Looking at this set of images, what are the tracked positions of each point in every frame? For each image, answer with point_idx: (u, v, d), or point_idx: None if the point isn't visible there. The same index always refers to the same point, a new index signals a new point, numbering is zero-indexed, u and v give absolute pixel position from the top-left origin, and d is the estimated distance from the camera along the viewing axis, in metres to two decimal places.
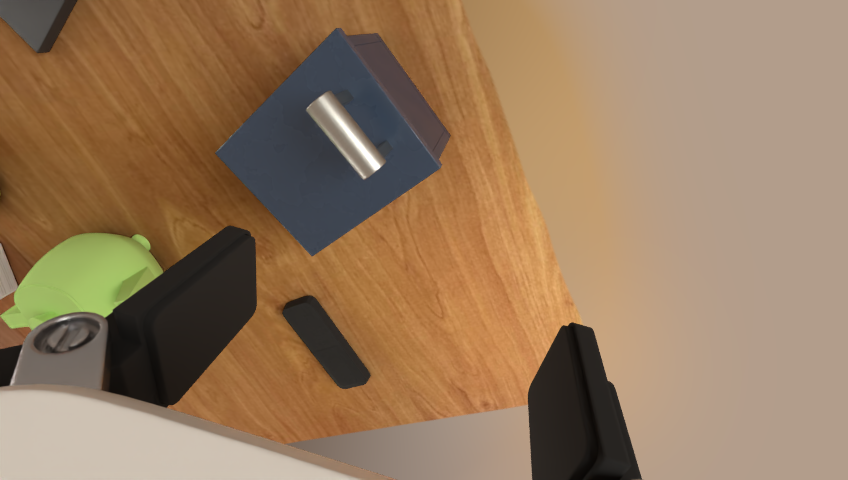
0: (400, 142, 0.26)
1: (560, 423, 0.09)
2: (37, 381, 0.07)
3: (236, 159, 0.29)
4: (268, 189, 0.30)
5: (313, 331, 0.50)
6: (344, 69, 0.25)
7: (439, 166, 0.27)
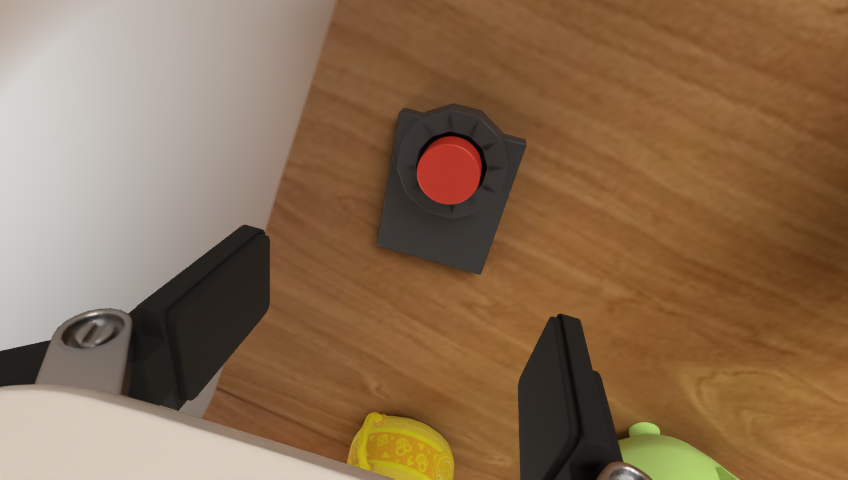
0: None
1: (546, 410, 0.09)
2: (62, 375, 0.07)
3: None
4: None
5: None
6: None
7: None
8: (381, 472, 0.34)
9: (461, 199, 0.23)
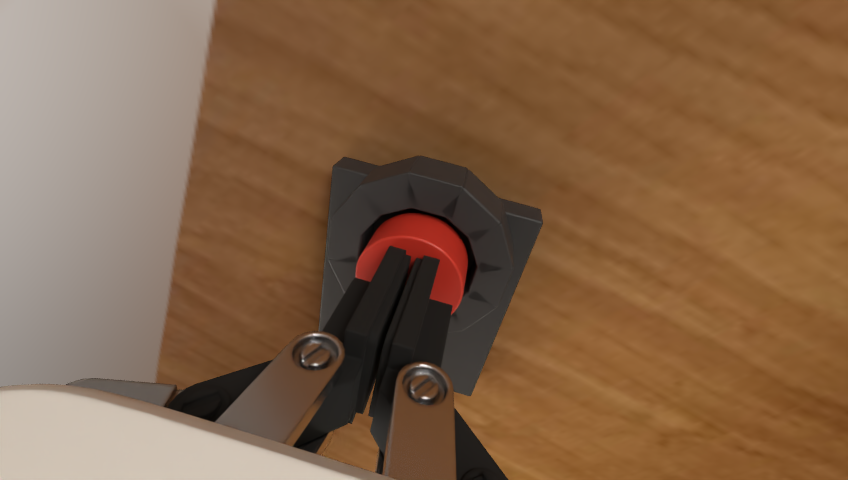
0: None
1: None
2: (273, 383, 0.07)
3: None
4: None
5: None
6: None
7: None
8: None
9: None
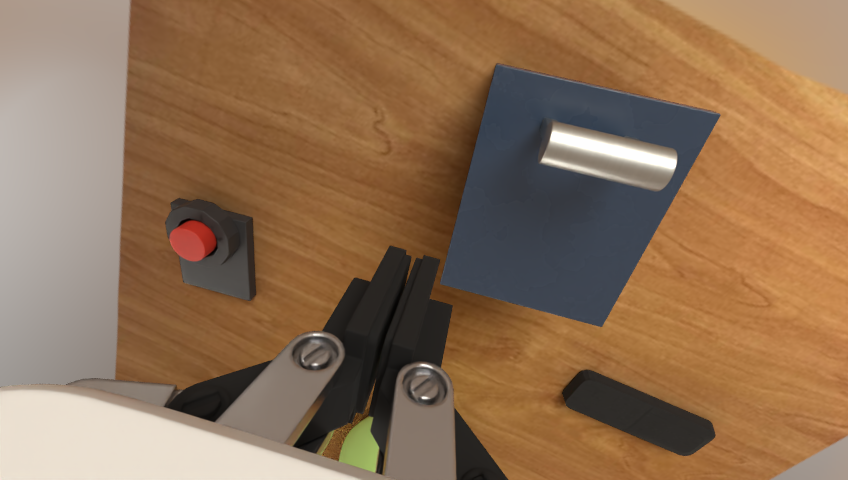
0: (644, 125, 0.19)
1: None
2: (273, 383, 0.07)
3: (464, 276, 0.25)
4: (512, 285, 0.24)
5: (612, 407, 0.40)
6: (529, 98, 0.19)
7: (717, 114, 0.18)
8: None
9: (199, 258, 0.37)
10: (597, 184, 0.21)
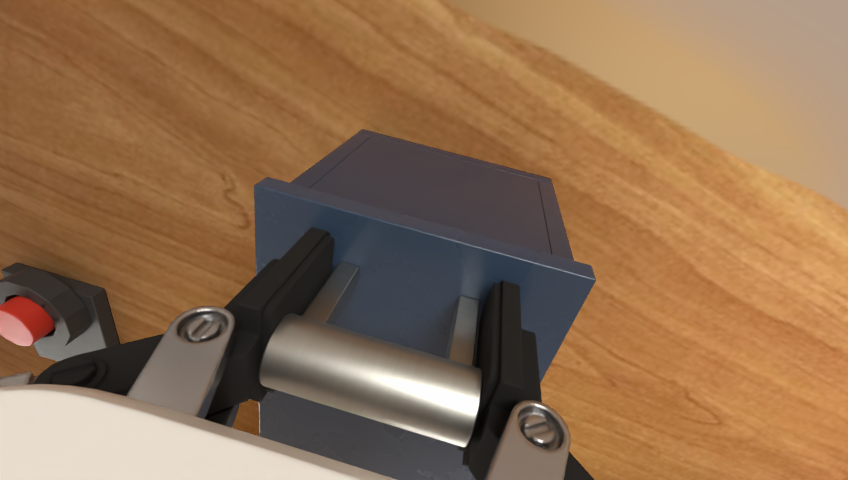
0: (485, 283, 0.12)
1: (480, 364, 0.10)
2: (167, 364, 0.07)
3: (286, 434, 0.18)
4: (349, 450, 0.18)
5: None
6: None
7: (591, 278, 0.11)
8: None
9: (28, 343, 0.30)
10: (434, 350, 0.14)
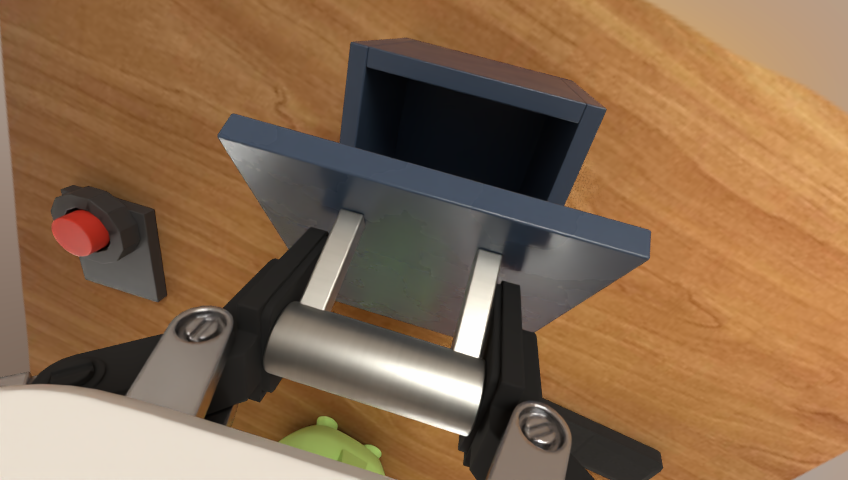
0: (509, 244, 0.10)
1: None
2: (165, 364, 0.07)
3: (338, 297, 0.21)
4: (393, 312, 0.20)
5: None
6: (303, 184, 0.10)
7: (644, 256, 0.09)
8: None
9: (86, 253, 0.33)
10: (456, 277, 0.13)
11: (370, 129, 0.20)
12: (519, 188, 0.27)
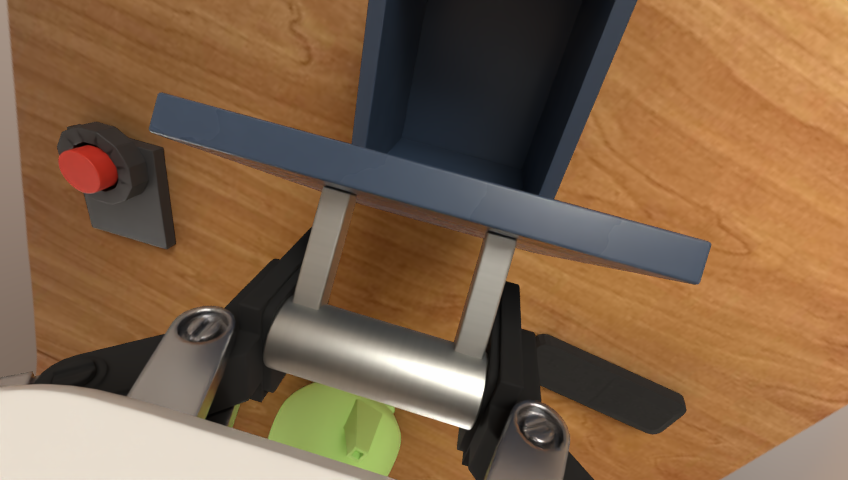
0: (523, 239, 0.08)
1: None
2: (167, 364, 0.07)
3: None
4: (418, 219, 0.19)
5: (571, 377, 0.36)
6: (271, 169, 0.09)
7: (693, 280, 0.07)
8: None
9: (94, 189, 0.32)
10: (472, 230, 0.12)
11: (396, 11, 0.19)
12: (544, 103, 0.26)
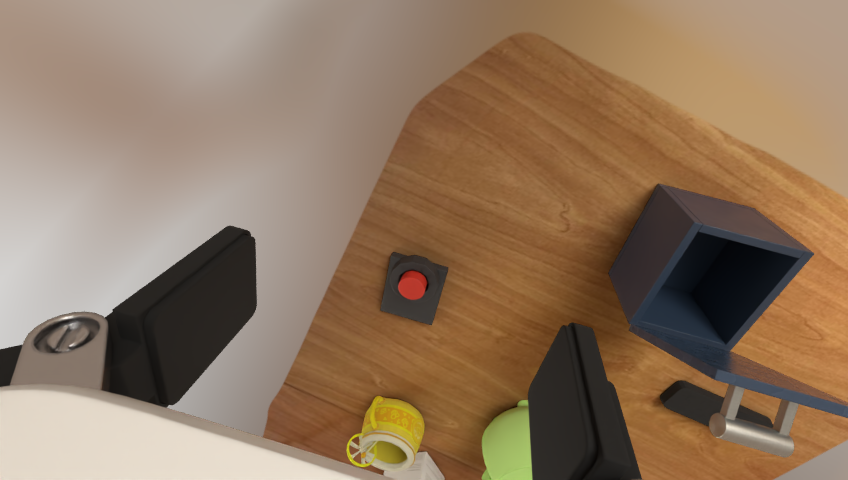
0: None
1: (560, 423, 0.09)
2: (37, 381, 0.07)
3: None
4: None
5: (699, 407, 0.56)
6: None
7: None
8: (383, 427, 0.64)
9: (417, 298, 0.52)
10: None
11: None
12: (712, 262, 0.46)
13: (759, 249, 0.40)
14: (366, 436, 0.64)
